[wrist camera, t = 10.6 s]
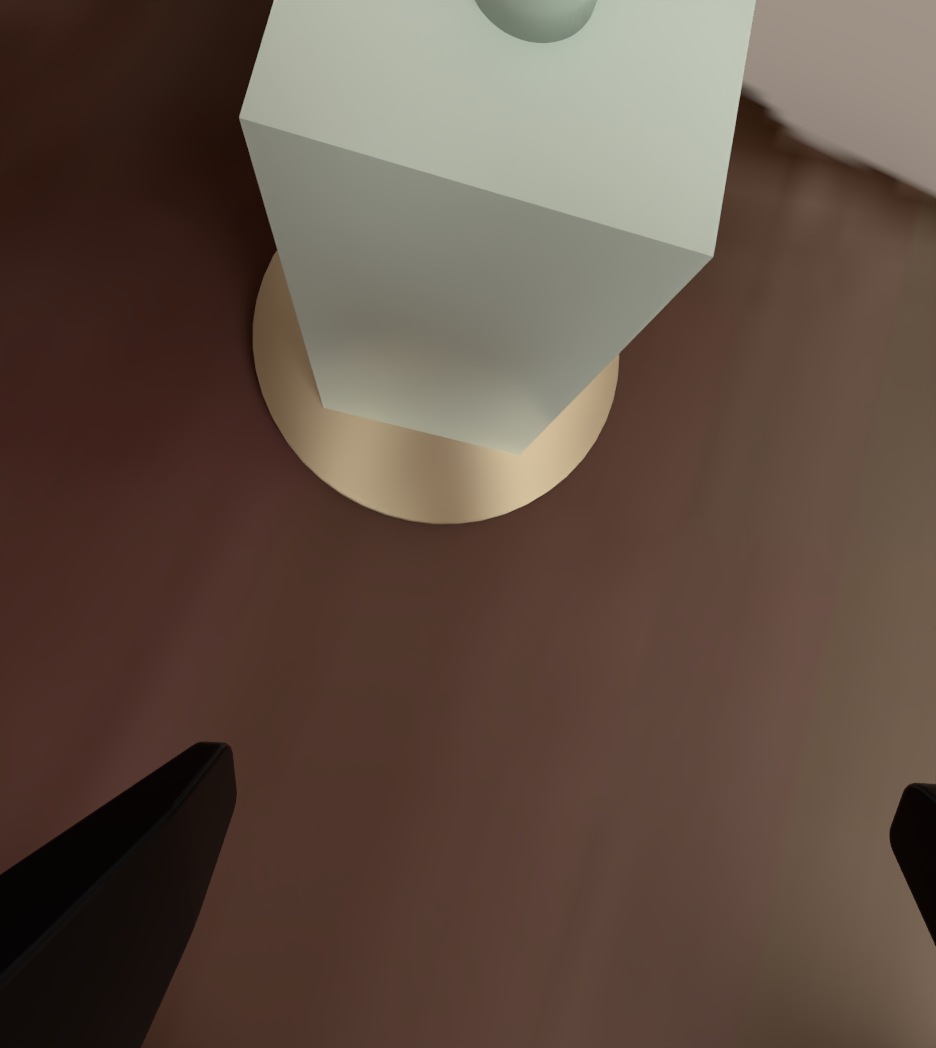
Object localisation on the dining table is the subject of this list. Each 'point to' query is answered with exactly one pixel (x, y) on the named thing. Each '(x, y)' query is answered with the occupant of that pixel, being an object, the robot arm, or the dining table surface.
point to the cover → (488, 192)
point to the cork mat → (409, 436)
